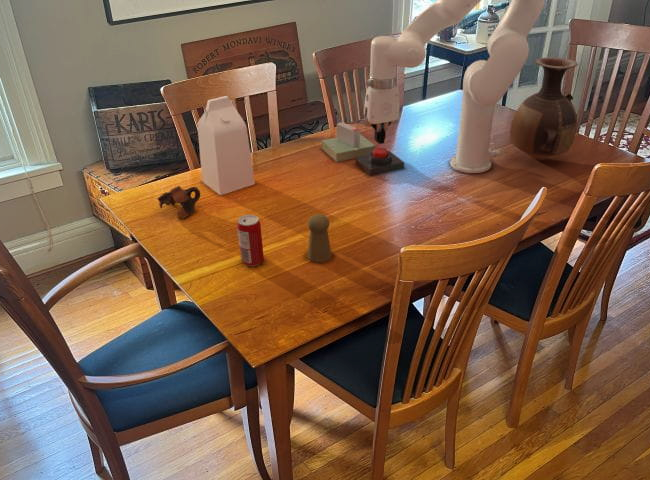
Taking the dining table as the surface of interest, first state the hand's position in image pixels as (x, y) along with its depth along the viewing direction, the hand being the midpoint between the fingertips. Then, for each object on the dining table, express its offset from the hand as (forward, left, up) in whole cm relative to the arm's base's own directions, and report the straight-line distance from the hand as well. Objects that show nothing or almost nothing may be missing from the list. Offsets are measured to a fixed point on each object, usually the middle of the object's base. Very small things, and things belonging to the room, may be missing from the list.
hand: (379, 142), depth 191 cm
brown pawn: (+38, +40, -8) cm, 56 cm away
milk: (+47, -10, -8) cm, 48 cm away
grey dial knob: (+4, -15, -5) cm, 16 cm away
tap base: (+4, -15, -8) cm, 17 cm away
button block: (0, 0, -8) cm, 8 cm away
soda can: (+54, +35, -8) cm, 65 cm away
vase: (-48, +17, -8) cm, 52 cm away
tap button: (0, 0, -5) cm, 5 cm away
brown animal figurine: (+64, +1, -8) cm, 64 cm away
